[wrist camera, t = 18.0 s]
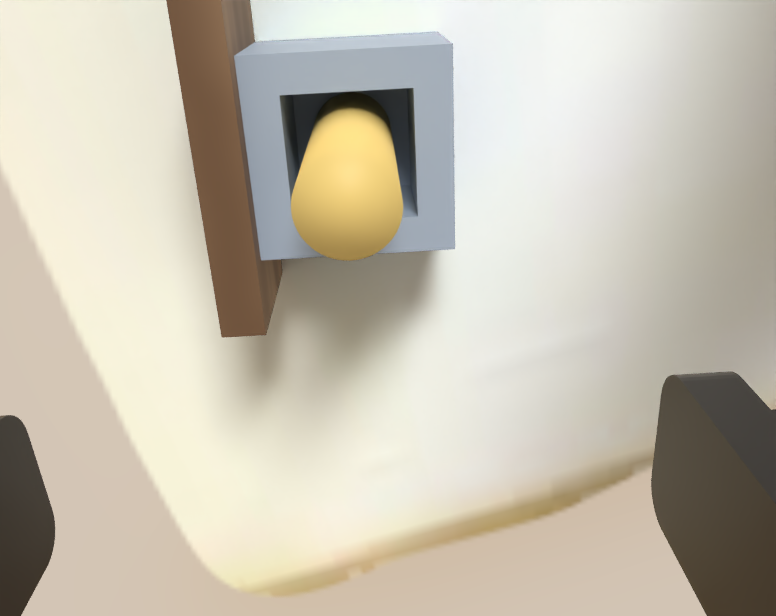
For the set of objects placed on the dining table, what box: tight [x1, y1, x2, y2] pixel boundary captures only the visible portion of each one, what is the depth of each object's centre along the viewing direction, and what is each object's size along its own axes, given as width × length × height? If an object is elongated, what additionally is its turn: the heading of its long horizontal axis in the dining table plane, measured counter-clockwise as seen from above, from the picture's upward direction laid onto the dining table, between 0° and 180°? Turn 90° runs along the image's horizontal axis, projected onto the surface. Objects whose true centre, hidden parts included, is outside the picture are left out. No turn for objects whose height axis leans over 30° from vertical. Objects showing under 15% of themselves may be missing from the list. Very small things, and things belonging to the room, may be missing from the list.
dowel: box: [291, 92, 403, 261], centre depth 24 cm, size 3×3×10 cm
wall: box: [166, 0, 282, 337], centre depth 27 cm, size 2×12×6 cm, turn 3°
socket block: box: [234, 32, 455, 260], centre depth 27 cm, size 7×7×5 cm
